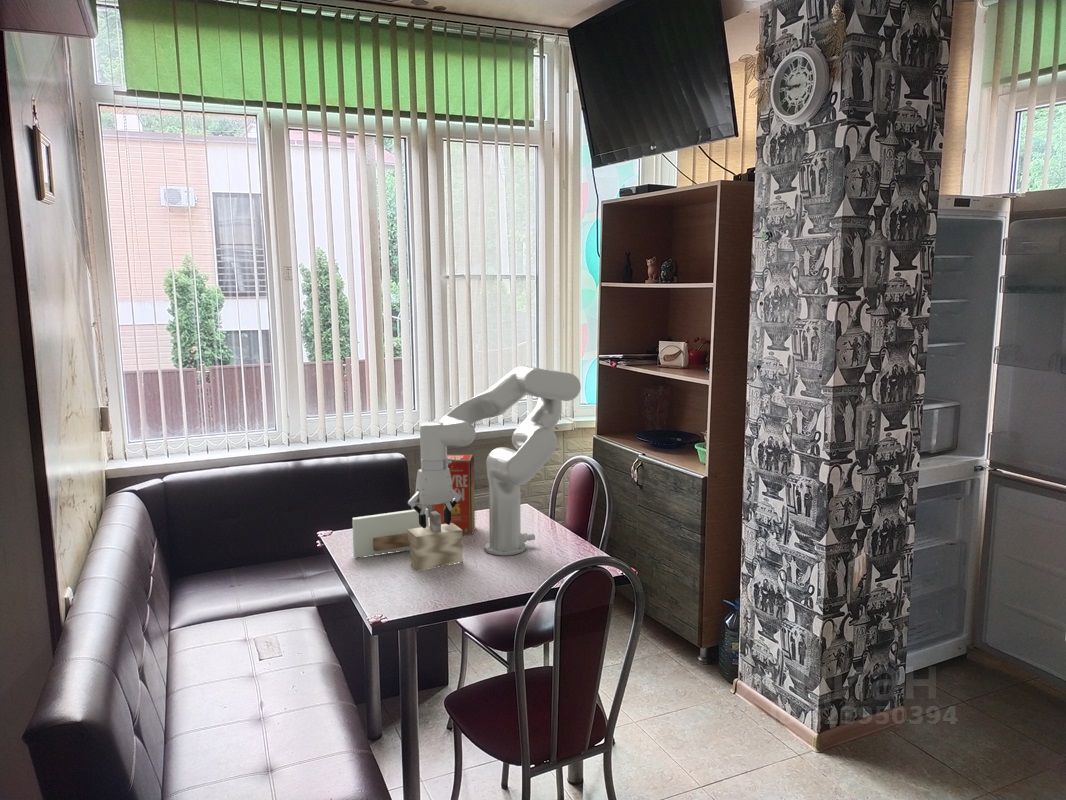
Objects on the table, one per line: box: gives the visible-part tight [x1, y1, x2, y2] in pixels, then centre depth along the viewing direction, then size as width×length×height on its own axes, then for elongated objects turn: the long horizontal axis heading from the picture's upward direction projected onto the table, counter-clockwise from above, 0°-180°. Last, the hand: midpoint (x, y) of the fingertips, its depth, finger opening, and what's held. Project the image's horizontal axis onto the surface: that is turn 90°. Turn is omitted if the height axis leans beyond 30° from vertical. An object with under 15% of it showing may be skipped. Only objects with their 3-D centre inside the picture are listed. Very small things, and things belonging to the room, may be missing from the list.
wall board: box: [351, 508, 430, 559], centre depth 230 cm, size 23×2×12 cm, turn 117°
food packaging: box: [431, 454, 476, 535], centre depth 250 cm, size 13×9×25 cm
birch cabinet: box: [407, 511, 464, 572], centre depth 220 cm, size 14×8×15 cm, turn 117°
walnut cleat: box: [373, 533, 410, 551], centre depth 228 cm, size 12×2×4 cm, turn 117°
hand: (435, 524), depth 219 cm, fingers open, 6 cm apart
